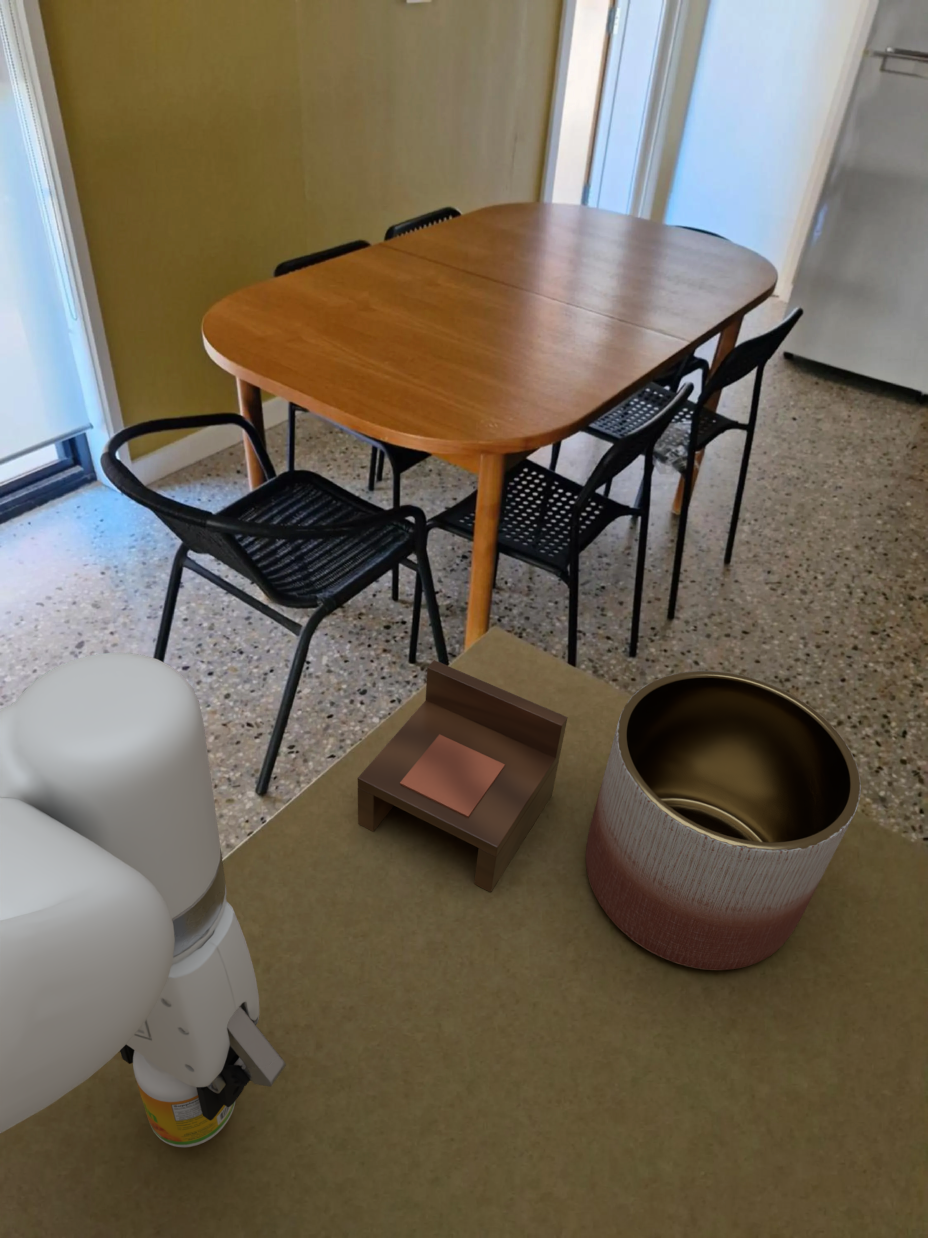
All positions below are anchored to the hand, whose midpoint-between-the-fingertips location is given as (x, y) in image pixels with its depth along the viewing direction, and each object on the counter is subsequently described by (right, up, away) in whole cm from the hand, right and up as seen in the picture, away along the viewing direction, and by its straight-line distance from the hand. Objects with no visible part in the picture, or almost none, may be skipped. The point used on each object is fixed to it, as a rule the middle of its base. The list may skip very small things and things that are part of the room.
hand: (184, 1067), depth 53 cm
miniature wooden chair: (+16, +10, +25) cm, 32 cm away
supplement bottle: (0, -4, +3) cm, 5 cm away
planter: (+36, +5, +21) cm, 42 cm away
